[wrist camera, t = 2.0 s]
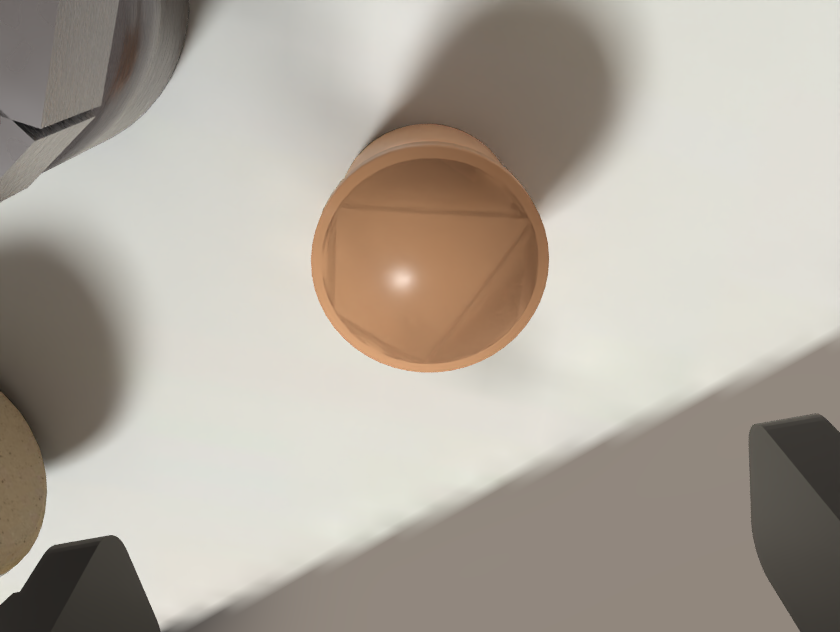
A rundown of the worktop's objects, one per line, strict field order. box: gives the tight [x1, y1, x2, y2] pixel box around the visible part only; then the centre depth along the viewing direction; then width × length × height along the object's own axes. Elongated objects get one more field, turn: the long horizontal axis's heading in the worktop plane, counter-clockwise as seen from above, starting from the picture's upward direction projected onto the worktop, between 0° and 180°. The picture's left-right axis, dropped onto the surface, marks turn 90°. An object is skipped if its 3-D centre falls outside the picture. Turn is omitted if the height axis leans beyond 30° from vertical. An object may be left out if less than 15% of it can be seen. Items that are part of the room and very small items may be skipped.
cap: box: [311, 124, 549, 372], centre depth 22 cm, size 6×6×5 cm
